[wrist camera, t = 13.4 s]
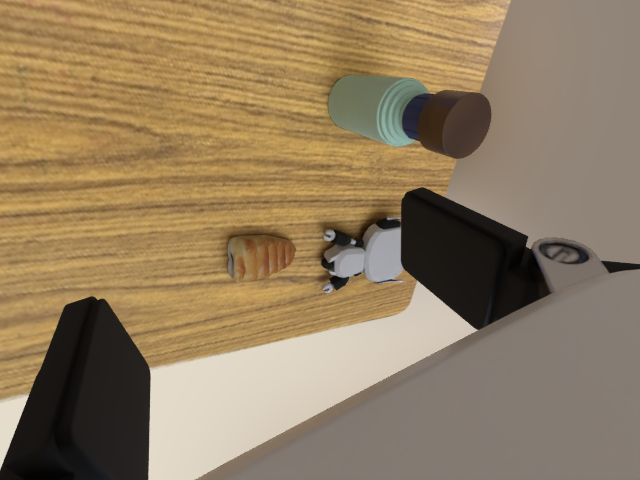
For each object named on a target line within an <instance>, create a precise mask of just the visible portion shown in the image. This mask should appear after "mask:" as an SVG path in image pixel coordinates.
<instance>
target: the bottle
mask: <svg viewBox="0 0 640 480" xmlns="http://www.w3.org/2000/svg"><path fill="white" fill-rule="evenodd" d="M424 93H428V94H429V92H428V90H427V89H426V87H425V86H424V85H423V84H422V83H421V82H419V81H418V80H416V79H413V78H402V77H385V76H369V75H347V76H344V77H342V78H341V79H339V80H338V81H337V82H336V83H335V85H334V86H333V88H332V89H331V92H330V95H329V99H328V110H329V114H330V117H331V119H332V120H333V122H334V123H335V124H336V125H337V126H338V127H340V128H343V129H345V130H348V131H351V132H354V133H357V134H360V135H362V136H365V137H368V138H371V139H374V140H377V141H379V142H382V143H385V144H388V145H391V146H395V147H400V146H404V145H408V144H410V143H412V142H414V141H415V140H414V139H411V138H408V136H406V134H405V133H404V131H403V128H402V116H403V112H404V109H405V107H406V105H407V104H408V103H409V101H410V100H411V99H412V98H414V97H415V96H417V95H420V94H424Z"/></svg>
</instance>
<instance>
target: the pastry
mask: <svg viewBox="0 0 640 480" xmlns="http://www.w3.org/2000/svg"><path fill="white" fill-rule="evenodd" d="M228 243H229V244H228V256H229V263H228V273H229V275H230V276H231V278H232V279H233V280H234V281H237V282H239V281H253V280H256V279H263V278H265V277H268V276H270V275H272V274H274V273H276V272H278V271H280V270H281V269H284V268H285V267H286V266H288V265H290V264H291V262H292V261H293V258H294V254H295V251H296V248H295V246H294V245H293V244H292V243H291V242H290V241H289V240H287V239H282V238H278V237H272V236H268V235H266V234H264V235H247V236H245V235H242V236H237V237H234V238H231V239H230V240H229V242H228Z"/></svg>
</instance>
